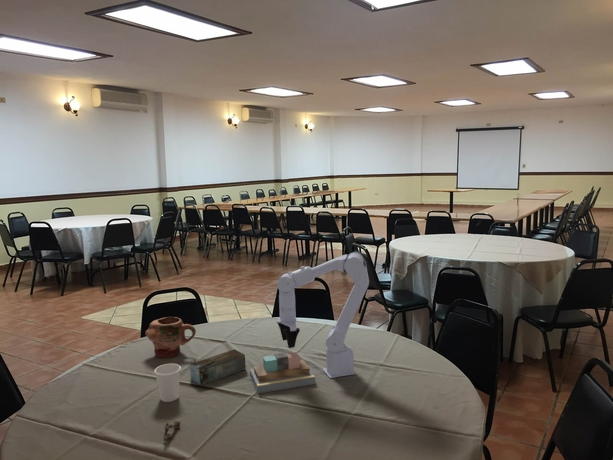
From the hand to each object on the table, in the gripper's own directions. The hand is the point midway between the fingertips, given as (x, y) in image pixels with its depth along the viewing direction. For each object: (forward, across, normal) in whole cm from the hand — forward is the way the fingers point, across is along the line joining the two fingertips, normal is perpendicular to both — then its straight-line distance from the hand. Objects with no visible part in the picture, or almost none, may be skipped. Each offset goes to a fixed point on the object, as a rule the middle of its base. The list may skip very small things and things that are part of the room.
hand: (288, 343), depth 177 cm
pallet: (+8, +6, -5) cm, 11 cm away
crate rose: (+6, +7, 0) cm, 9 cm away
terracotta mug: (+10, -32, -40) cm, 52 cm away
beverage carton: (+11, -6, -25) cm, 28 cm away
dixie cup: (+10, +6, -43) cm, 44 cm away
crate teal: (+6, +6, -9) cm, 12 cm away
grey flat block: (+10, +7, -5) cm, 13 cm away
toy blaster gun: (+10, +28, -43) cm, 52 cm away
